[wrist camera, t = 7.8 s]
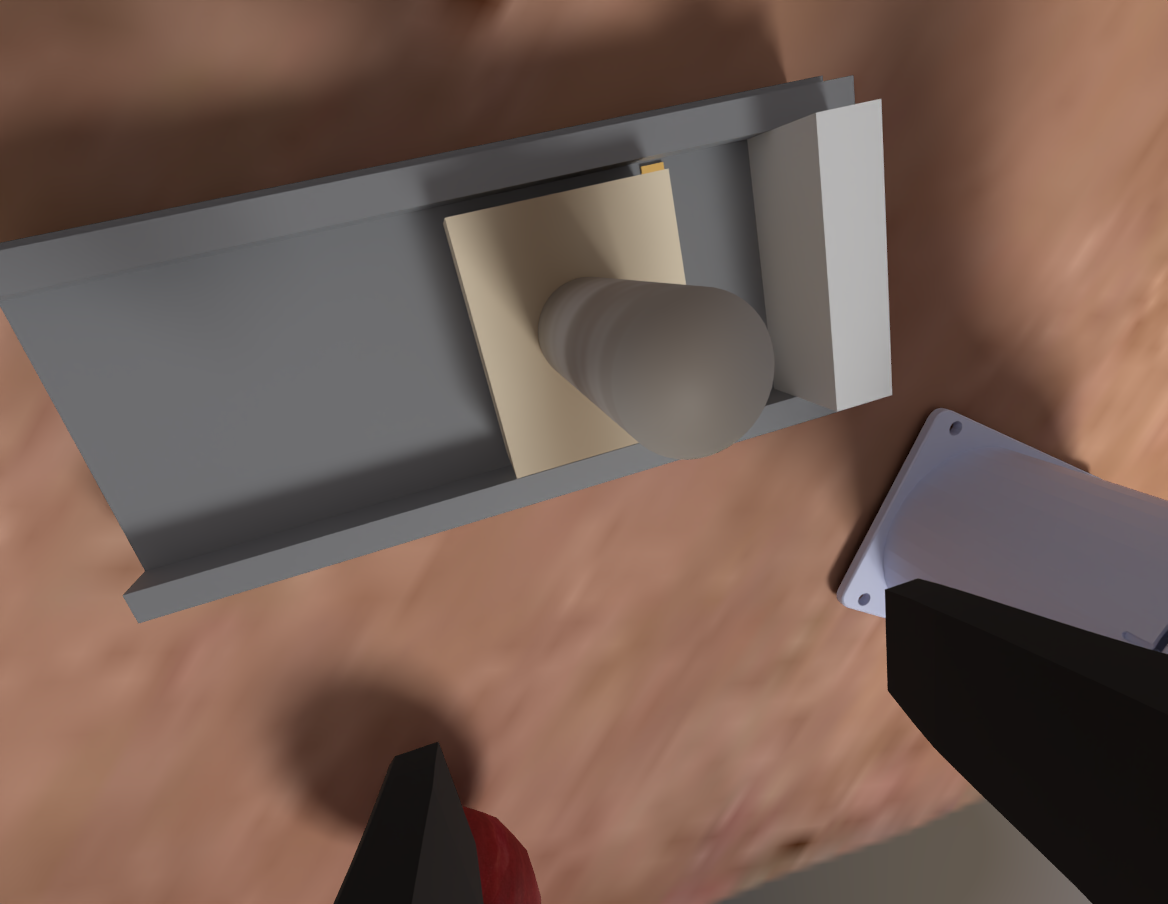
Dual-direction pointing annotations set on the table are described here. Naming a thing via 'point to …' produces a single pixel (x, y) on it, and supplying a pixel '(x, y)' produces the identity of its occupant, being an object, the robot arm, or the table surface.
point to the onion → (501, 862)
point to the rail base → (417, 331)
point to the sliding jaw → (605, 328)
